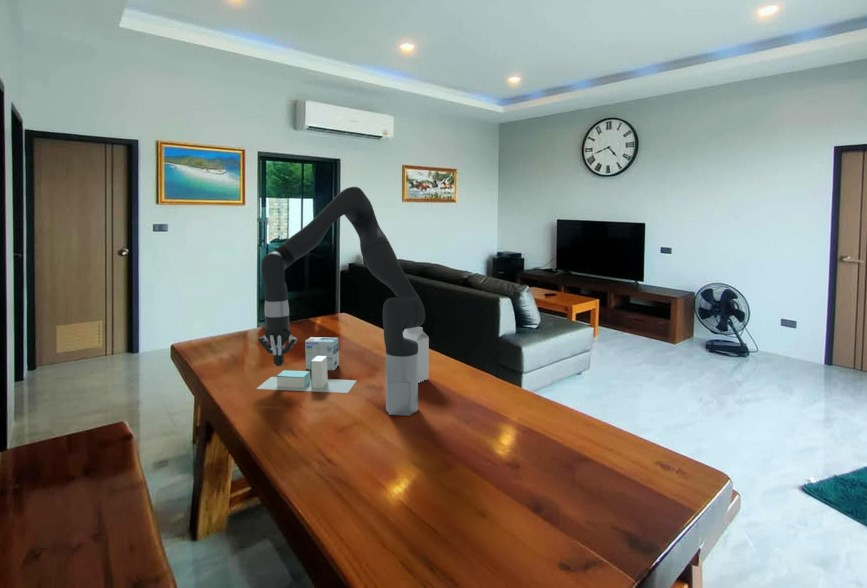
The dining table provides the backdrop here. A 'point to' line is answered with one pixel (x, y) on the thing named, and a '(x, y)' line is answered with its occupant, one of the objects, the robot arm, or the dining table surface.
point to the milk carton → (420, 350)
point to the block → (319, 372)
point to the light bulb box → (322, 351)
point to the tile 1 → (293, 378)
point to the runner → (330, 386)
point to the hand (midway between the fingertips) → (279, 365)
